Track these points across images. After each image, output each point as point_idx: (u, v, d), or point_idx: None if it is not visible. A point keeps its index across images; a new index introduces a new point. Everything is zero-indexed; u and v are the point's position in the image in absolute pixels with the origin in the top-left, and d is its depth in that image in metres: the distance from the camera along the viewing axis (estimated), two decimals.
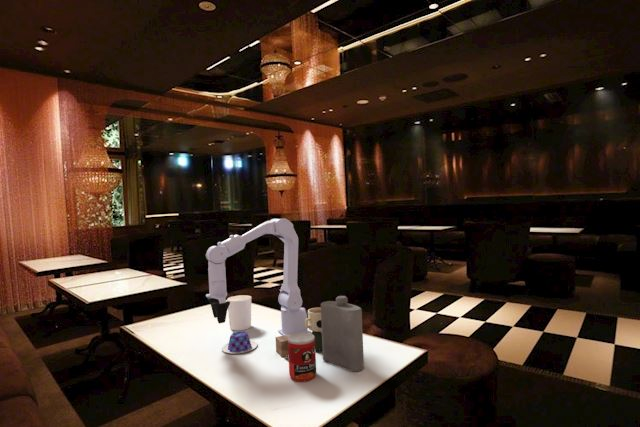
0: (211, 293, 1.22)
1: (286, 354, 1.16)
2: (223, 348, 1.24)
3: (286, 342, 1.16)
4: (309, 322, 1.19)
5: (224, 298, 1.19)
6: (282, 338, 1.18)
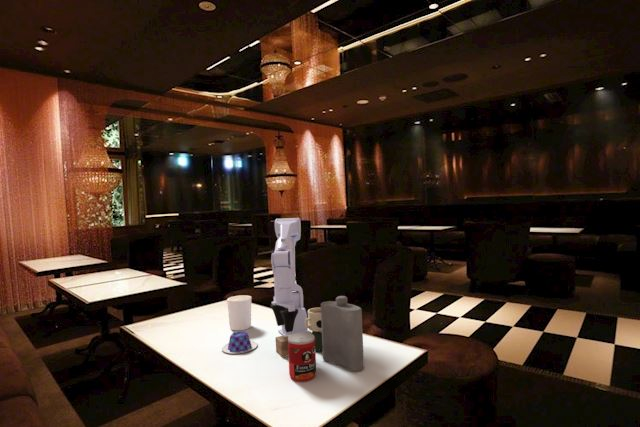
0: (278, 300, 1.16)
1: (286, 354, 1.16)
2: (223, 348, 1.24)
3: (286, 342, 1.16)
4: (309, 322, 1.19)
5: (294, 306, 1.12)
6: (282, 338, 1.18)
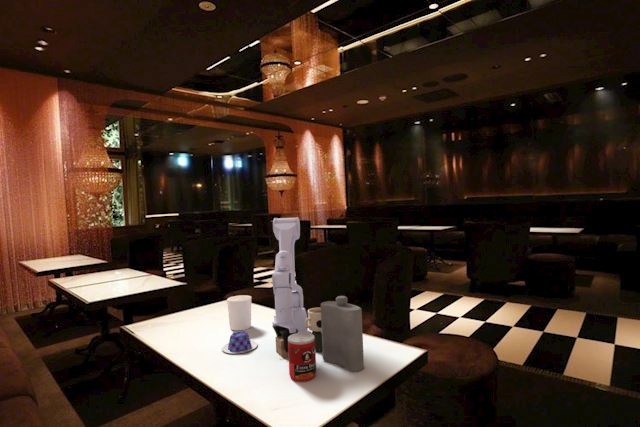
0: (278, 321, 1.16)
1: (286, 354, 1.16)
2: (223, 348, 1.24)
3: None
4: (309, 322, 1.19)
5: (295, 327, 1.13)
6: (282, 338, 1.18)
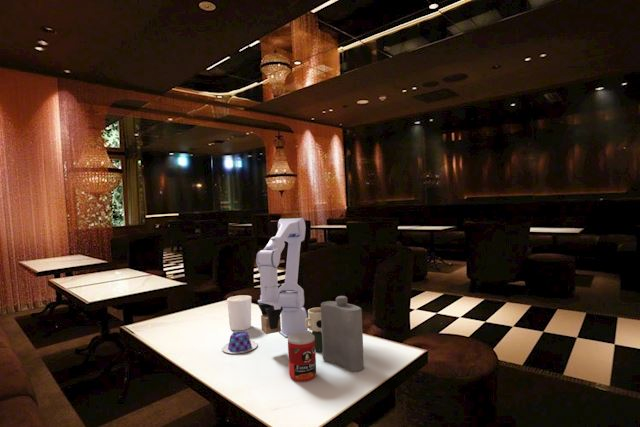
0: (264, 299, 1.18)
1: (271, 331, 1.18)
2: (223, 348, 1.24)
3: None
4: (309, 322, 1.19)
5: (279, 304, 1.14)
6: (267, 316, 1.20)
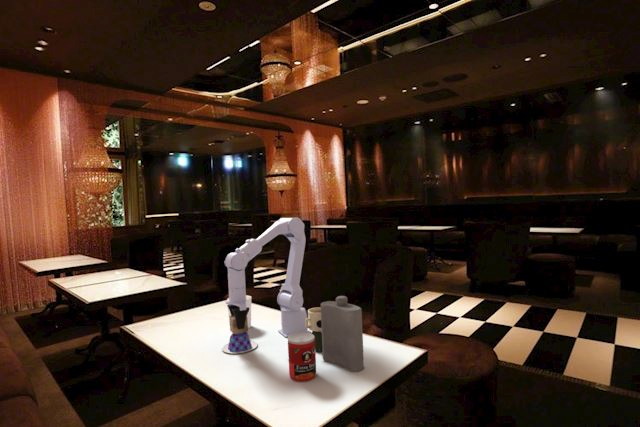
0: (231, 300, 1.22)
1: (238, 331, 1.22)
2: (223, 348, 1.24)
3: None
4: (309, 322, 1.19)
5: (245, 305, 1.19)
6: (234, 316, 1.24)
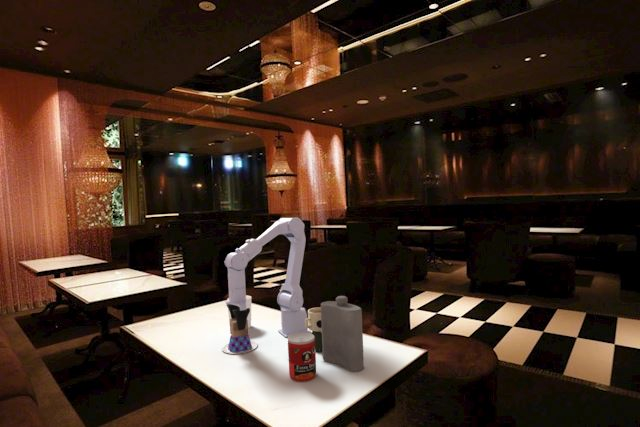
0: (231, 300, 1.22)
1: (238, 334, 1.22)
2: (223, 348, 1.25)
3: None
4: (309, 322, 1.19)
5: (245, 305, 1.19)
6: (235, 320, 1.25)
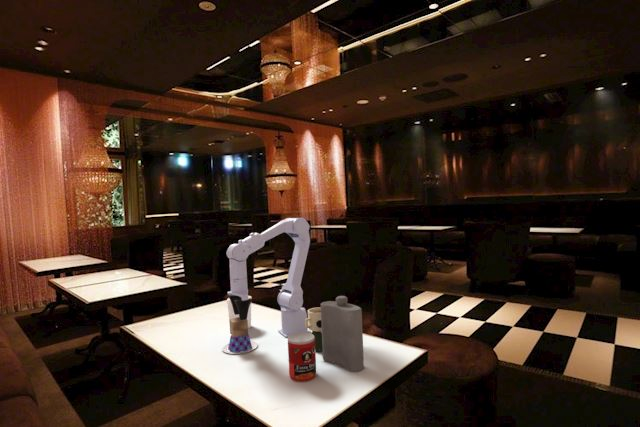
0: (233, 290, 1.24)
1: (238, 334, 1.22)
2: (224, 348, 1.25)
3: (238, 323, 1.22)
4: (309, 322, 1.19)
5: (246, 295, 1.20)
6: (235, 319, 1.25)
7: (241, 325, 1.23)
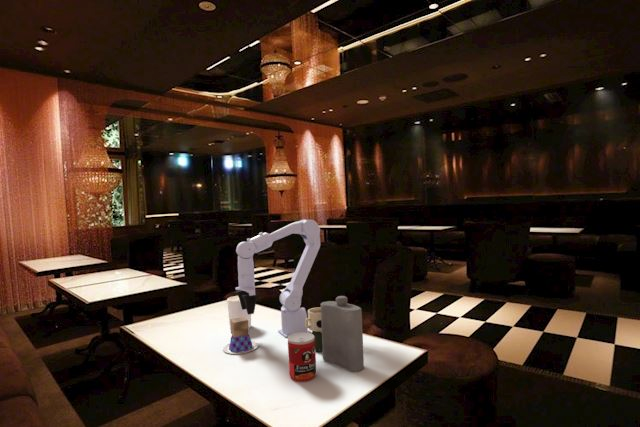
0: (241, 286, 1.30)
1: (239, 334, 1.22)
2: (224, 348, 1.25)
3: (239, 323, 1.22)
4: (309, 322, 1.19)
5: (254, 290, 1.26)
6: (235, 320, 1.25)
7: (242, 325, 1.23)
